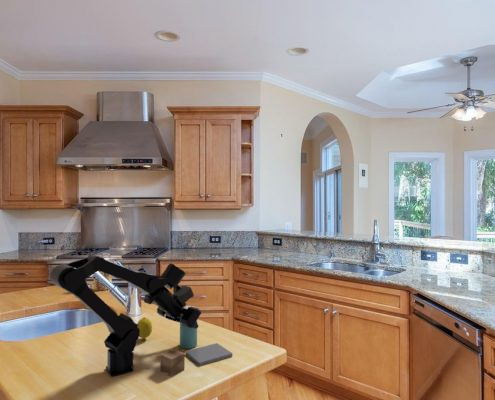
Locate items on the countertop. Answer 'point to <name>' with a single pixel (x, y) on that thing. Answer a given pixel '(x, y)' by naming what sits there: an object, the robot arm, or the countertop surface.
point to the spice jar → (187, 335)
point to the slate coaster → (208, 354)
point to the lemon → (144, 327)
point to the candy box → (98, 285)
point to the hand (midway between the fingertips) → (191, 325)
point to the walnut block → (172, 362)
